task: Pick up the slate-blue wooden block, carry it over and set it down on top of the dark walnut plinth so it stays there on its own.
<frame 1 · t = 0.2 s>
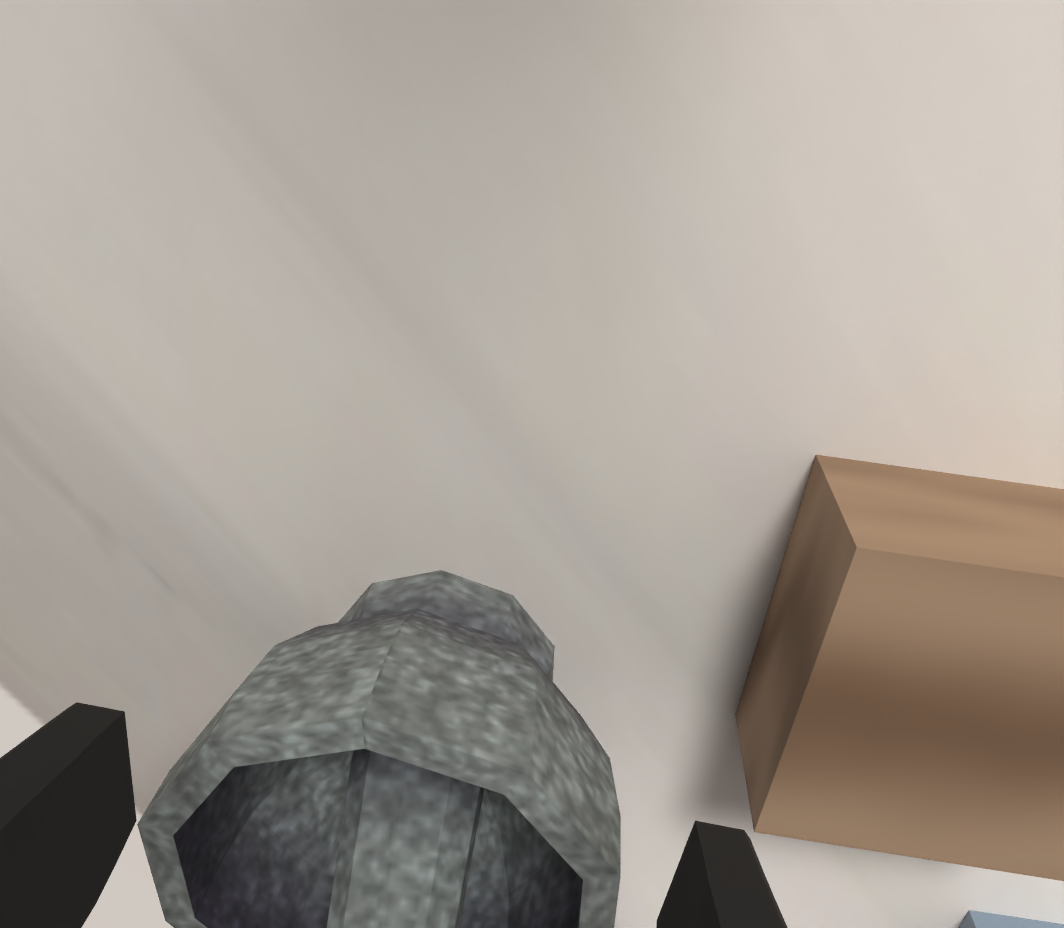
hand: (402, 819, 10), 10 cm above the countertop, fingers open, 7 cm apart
mortar and pestle: (445, 678, 23), on the countertop
walnut plinth: (930, 613, 20), on the countertop
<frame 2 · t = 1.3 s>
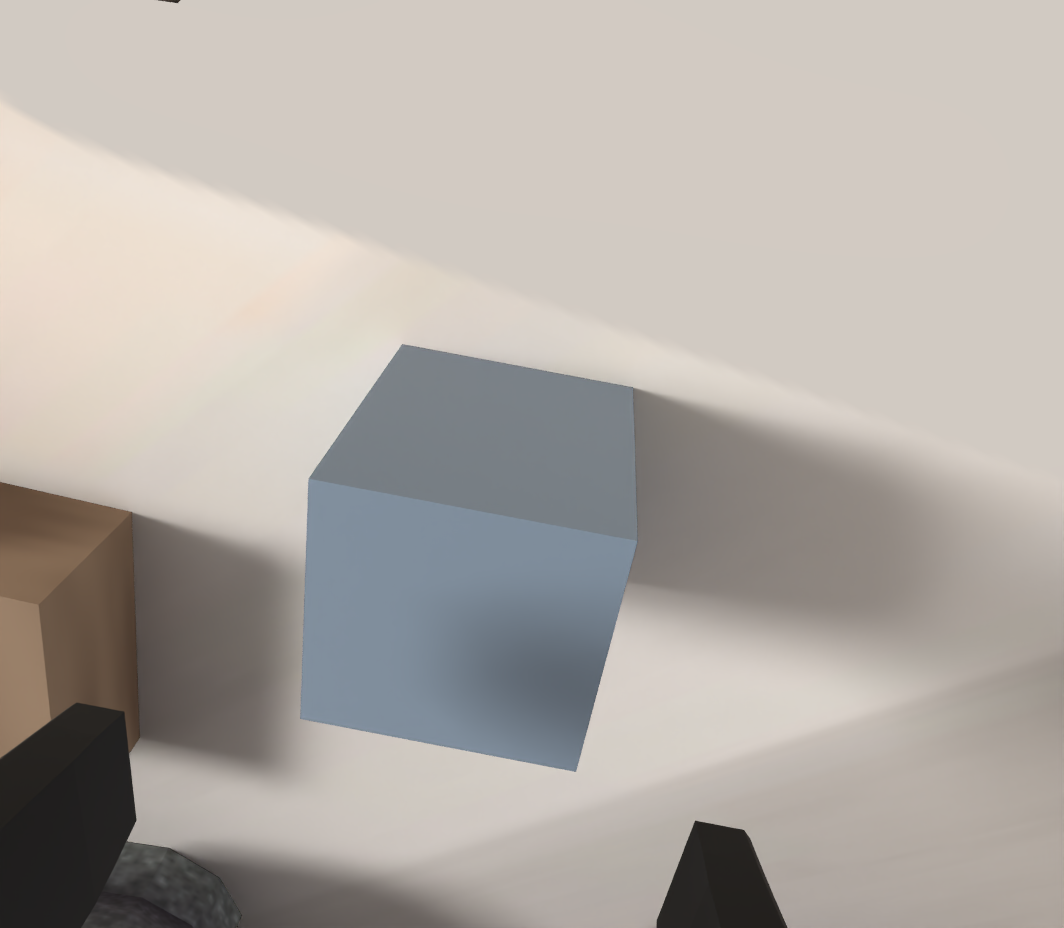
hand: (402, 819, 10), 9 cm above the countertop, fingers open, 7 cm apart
slate block: (501, 466, 19), on the countertop
mortar and pestle: (174, 899, 28), on the countertop
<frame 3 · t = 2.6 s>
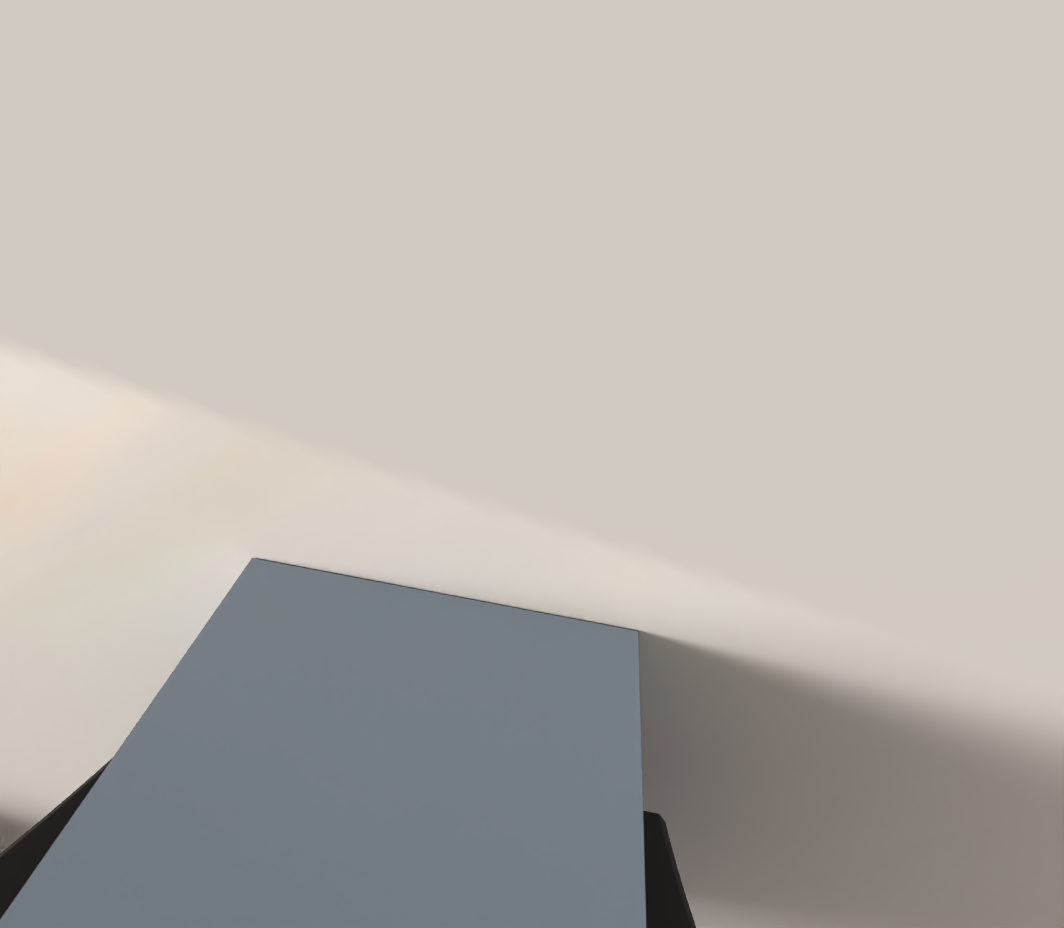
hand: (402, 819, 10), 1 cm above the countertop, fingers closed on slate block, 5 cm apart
slate block: (425, 733, 12), on the countertop, touching gripper
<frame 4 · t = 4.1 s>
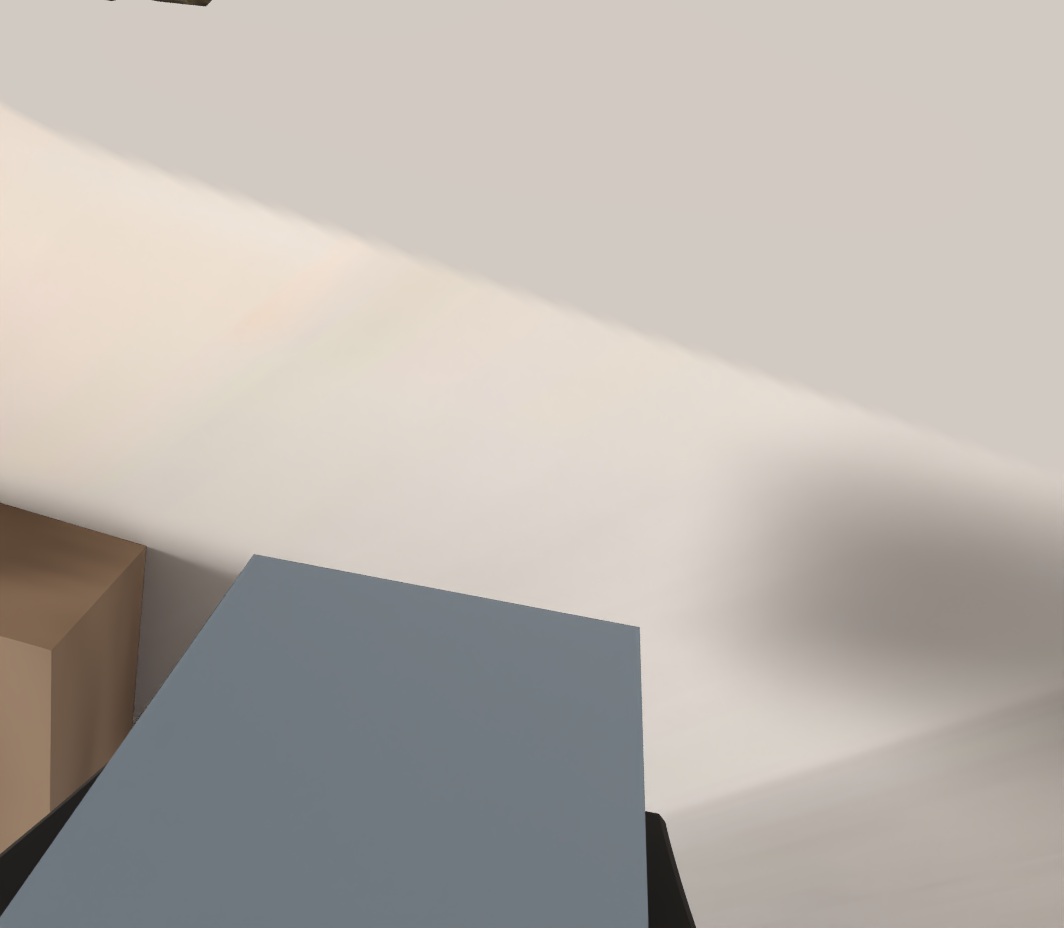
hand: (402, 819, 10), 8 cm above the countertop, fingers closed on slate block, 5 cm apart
slate block: (427, 730, 12), point 7 cm above the countertop, touching gripper
when the fingers open (7 cm above the countertop, at t = 5.8 s): slate block drops 2 cm, resting on walnut plinth.
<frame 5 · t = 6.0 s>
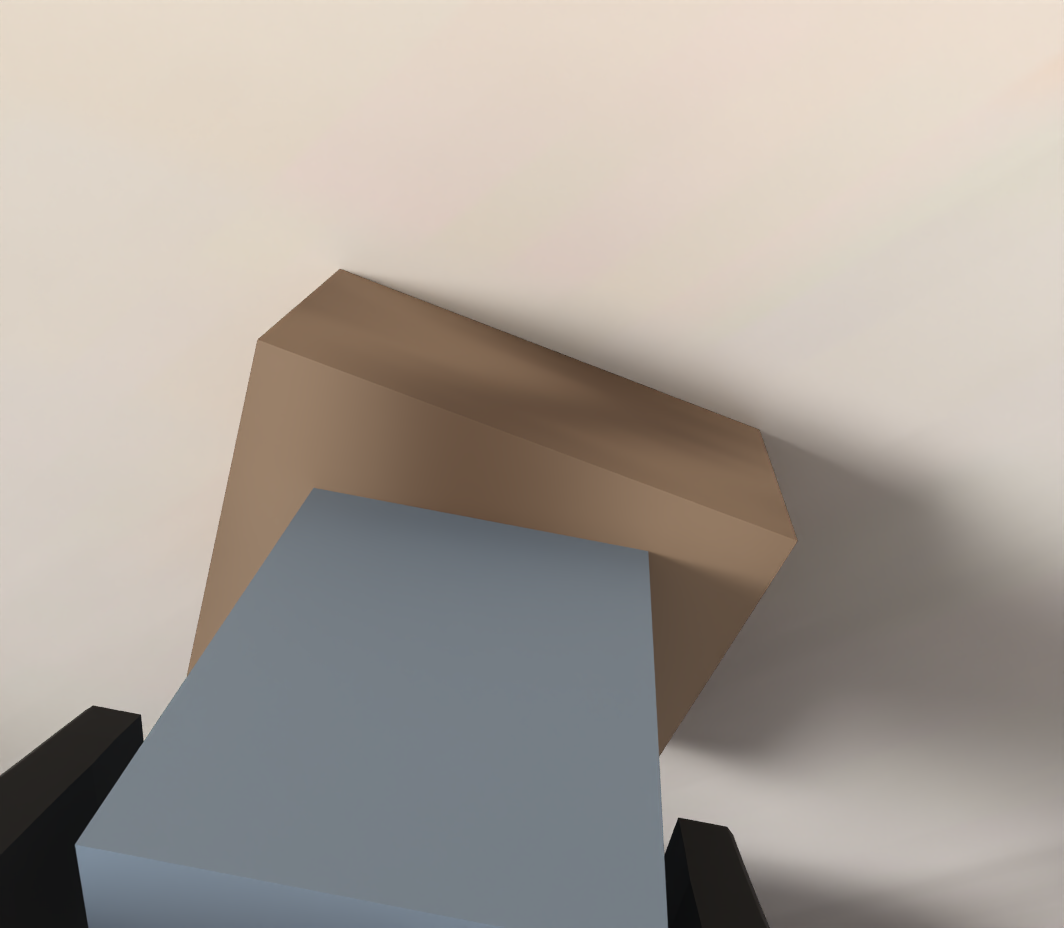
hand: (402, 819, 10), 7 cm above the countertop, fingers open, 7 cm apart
slate block: (460, 648, 13), point 4 cm above the countertop, touching walnut plinth
walnut plinth: (485, 517, 17), on the countertop, touching slate block
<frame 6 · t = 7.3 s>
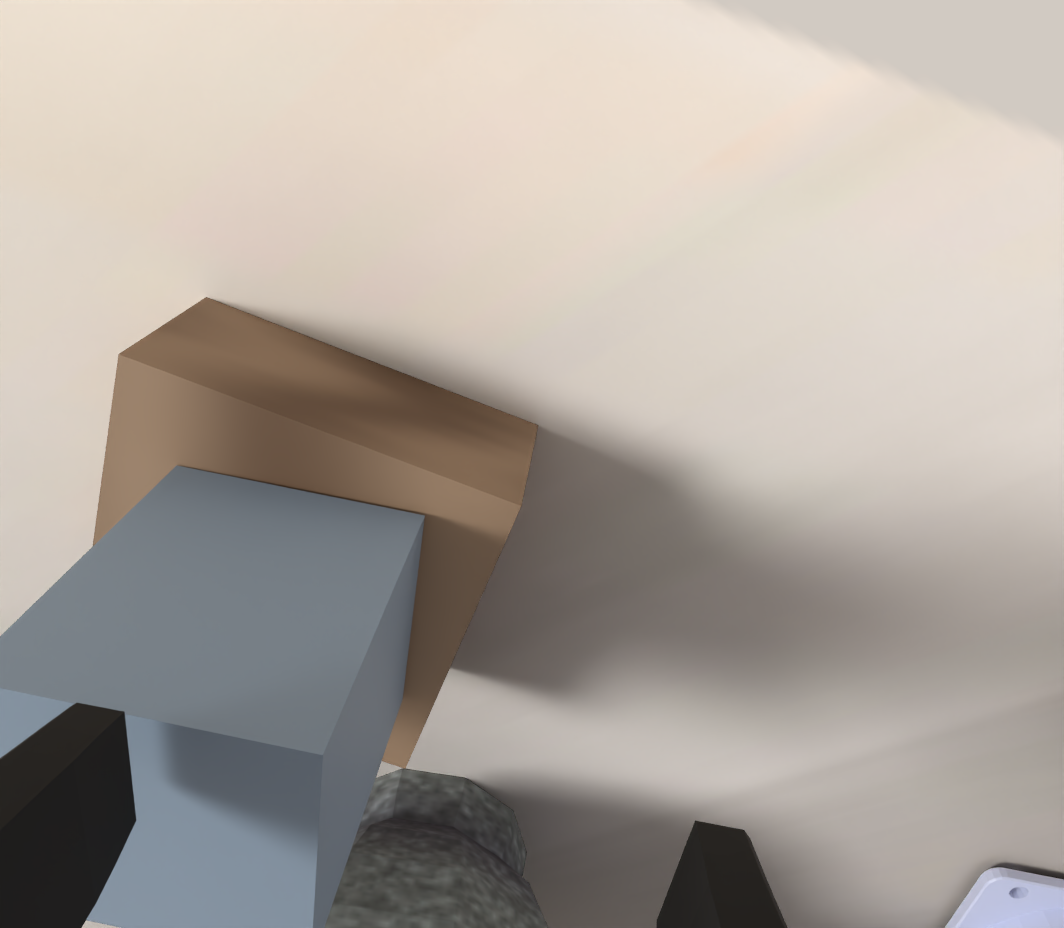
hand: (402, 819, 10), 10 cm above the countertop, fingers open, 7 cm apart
slate block: (297, 590, 17), point 4 cm above the countertop, touching walnut plinth
mortar and pestle: (452, 835, 27), on the countertop
walnut plinth: (337, 493, 21), on the countertop, touching slate block
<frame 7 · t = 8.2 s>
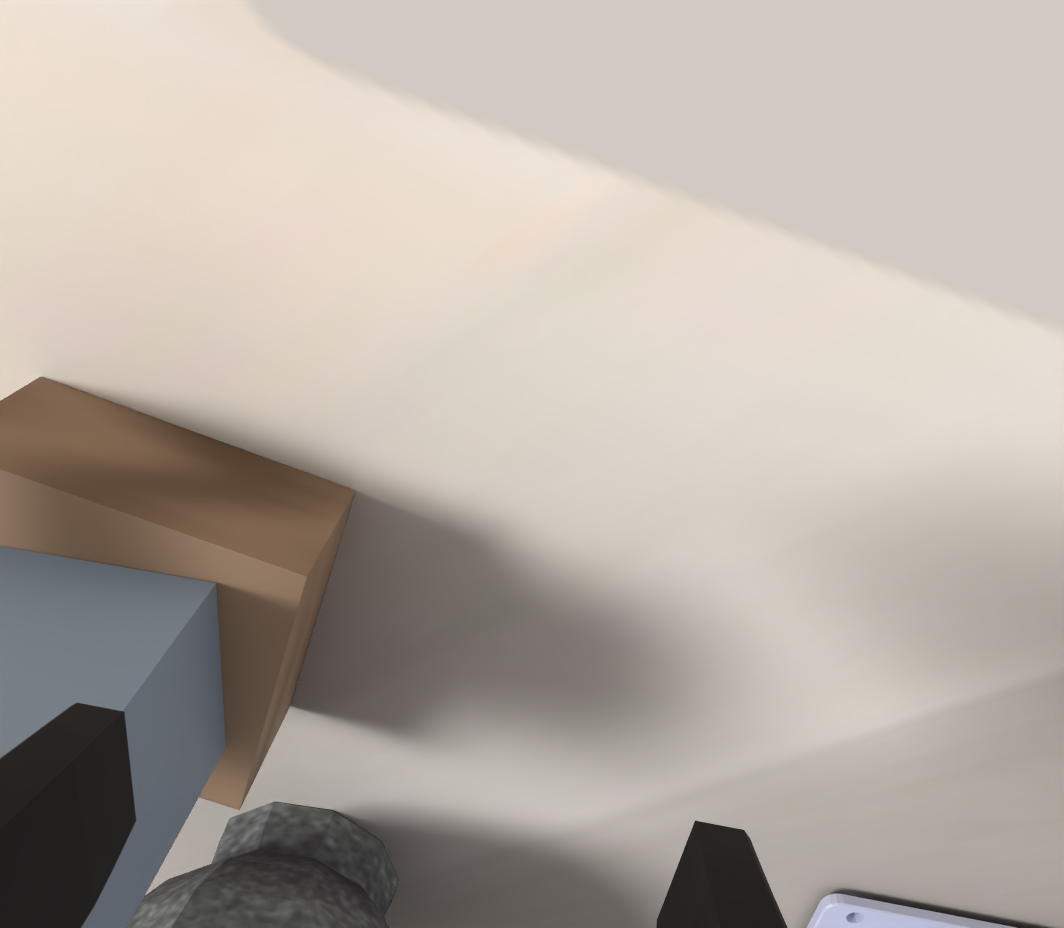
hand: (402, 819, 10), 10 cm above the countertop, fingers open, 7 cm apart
slate block: (114, 651, 19), point 4 cm above the countertop, touching walnut plinth
mortar and pestle: (329, 863, 28), on the countertop
walnut plinth: (183, 551, 22), on the countertop, touching slate block
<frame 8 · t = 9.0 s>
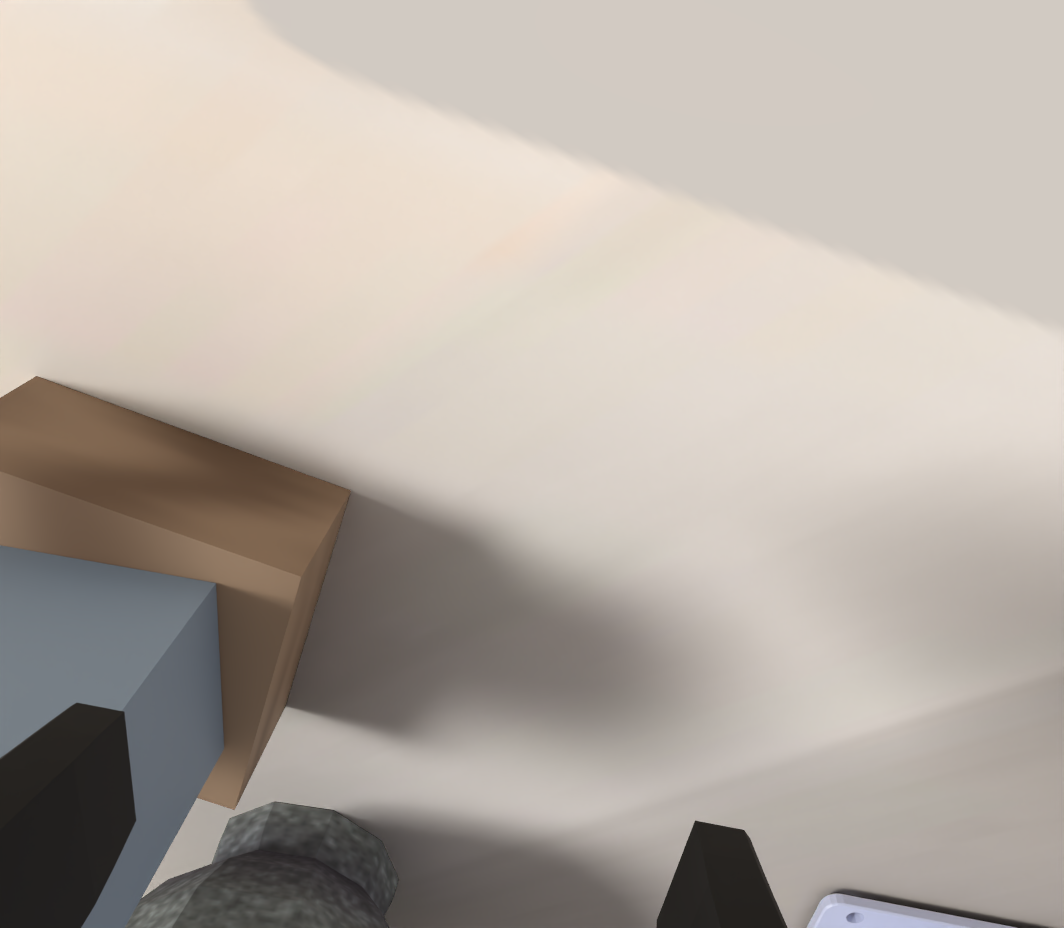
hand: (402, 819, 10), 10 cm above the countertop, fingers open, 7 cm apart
slate block: (113, 652, 19), point 4 cm above the countertop
mortar and pestle: (329, 863, 28), on the countertop
walnut plinth: (179, 550, 22), on the countertop
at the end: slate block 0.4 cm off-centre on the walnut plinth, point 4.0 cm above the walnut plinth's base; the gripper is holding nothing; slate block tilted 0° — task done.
